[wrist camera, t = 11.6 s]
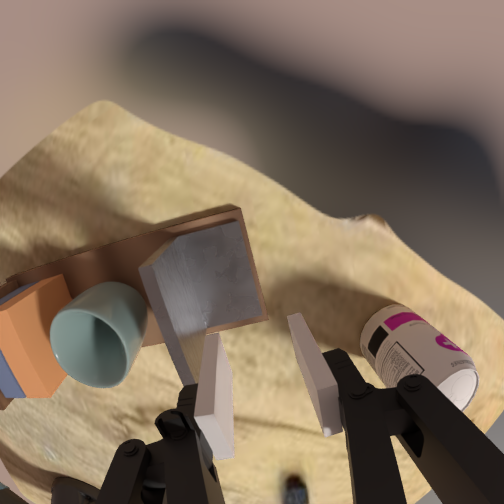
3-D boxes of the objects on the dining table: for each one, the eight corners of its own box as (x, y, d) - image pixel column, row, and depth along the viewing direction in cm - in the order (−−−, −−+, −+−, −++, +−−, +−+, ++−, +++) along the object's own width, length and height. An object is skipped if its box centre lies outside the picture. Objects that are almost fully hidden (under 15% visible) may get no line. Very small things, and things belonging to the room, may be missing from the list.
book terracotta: (69, 347, 32) (27, 397, 22) (41, 280, 30) (-15, 315, 20) (90, 344, 32) (50, 397, 22) (62, 273, 30) (6, 309, 20)
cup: (159, 280, 31) (132, 321, 21) (153, 344, 33) (129, 398, 23) (92, 265, 30) (45, 297, 21) (90, 328, 32) (52, 374, 22)
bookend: (198, 328, 32) (185, 390, 22) (169, 238, 30) (137, 268, 19) (262, 313, 32) (276, 372, 22) (238, 220, 30) (242, 241, 19)
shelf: (45, 357, 34) (-4, 413, 21) (10, 276, 31) (-55, 312, 18) (267, 314, 34) (286, 386, 21) (240, 207, 31) (246, 225, 18)
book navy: (48, 350, 32) (5, 397, 22) (20, 286, 30) (-34, 320, 20) (67, 348, 32) (25, 397, 22) (39, 280, 30) (-17, 315, 20)
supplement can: (394, 289, 34) (471, 345, 20) (422, 329, 36) (490, 388, 22) (345, 335, 35) (400, 413, 21) (377, 370, 37) (430, 443, 22)
